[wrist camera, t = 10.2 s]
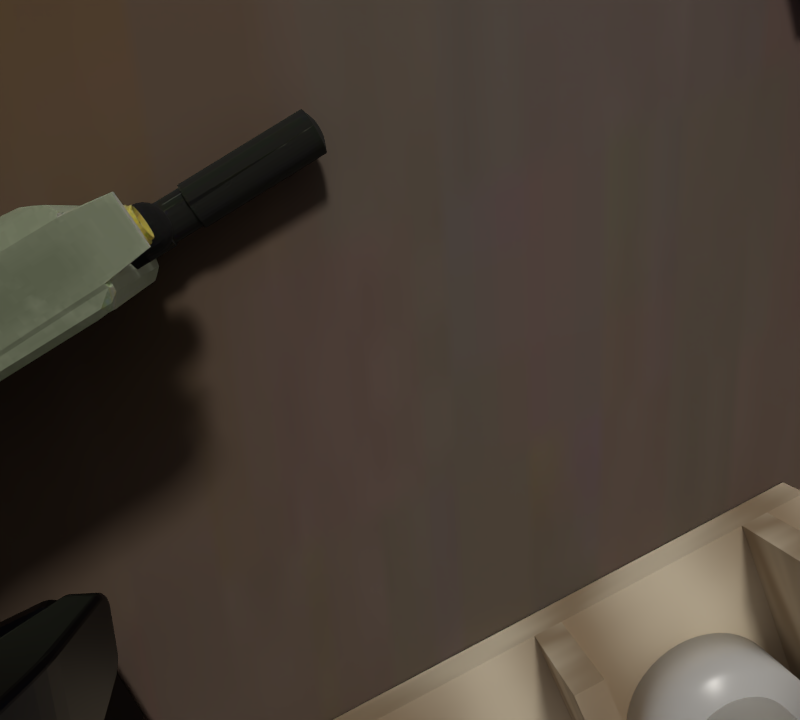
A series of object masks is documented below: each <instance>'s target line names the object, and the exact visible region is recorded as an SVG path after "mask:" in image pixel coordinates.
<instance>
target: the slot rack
mask: <svg viewBox="0 0 800 720" xmlns="http://www.w3.org/2000/svg"><path fill="white" fill-rule="evenodd" d="M712 633H730V634H735V635H739V636H742V637H745V638H747V639H749V640H751V641H753V642H755V643H756V644H757V645H759V646H760V647H761V648H762V649H764V650H765V651H766V652H767V653H768V654H770V655H771V656H772V657H773V658H774V659H775V660H777V661H778V662H779V663H780V664H781V665H783V666H784V667H785V668H786V669H787V670H788V671H790V672H791V673H792V674H793V675H794V676H795V677H797V678H798V679H799V680H800V490H798V489H796V488H793V487H791V486H789V485H787V484H785V483H781V484H779V485H777V486H775V487H773V488H771V489H769V490H767V491H766V492H764V493H762V494H760V495H758V496H756V497H754V498H752V499H750V500H748V501H747V502H745V503H743V504H741V505H739V506H737V507H735V508H733V509H731V510H730V511H728V512H726V513H724V514H722V515H720V516H718V517H716V518H714V519H712V520H711V521H709V522H707V523H705V524H703V525H701V526H699V527H697V528H695V529H694V530H692V531H690V532H688V533H686V534H684V535H682V536H680V537H678V538H676V539H675V540H673V541H671V542H669V543H667V544H665V545H663V546H661V547H659V548H658V549H656V550H654V551H652V552H650V553H648V554H646V555H644V556H642V557H640V558H639V559H637V560H635V561H633V562H631V563H629V564H627V565H625V566H623V567H621V568H620V569H618V570H616V571H614V572H612V573H610V574H608V575H606V576H604V577H603V578H601V579H599V580H597V581H595V582H593V583H591V584H589V585H587V586H585V587H584V588H582V589H580V590H578V591H576V592H574V593H572V594H570V595H568V596H567V597H565V598H563V599H561V600H559V601H557V602H555V603H553V604H551V605H549V606H548V607H546V608H544V609H542V610H540V611H538V612H536V613H534V614H532V615H531V616H529V617H527V618H525V619H523V620H521V621H519V622H517V623H515V624H513V625H512V626H510V627H508V628H506V629H504V630H502V631H500V632H498V633H496V634H495V635H493V636H491V637H489V638H487V639H485V640H483V641H481V642H479V643H477V644H476V645H474V646H472V647H470V648H468V649H466V650H464V651H462V652H460V653H459V654H457V655H455V656H453V657H451V658H449V659H447V660H445V661H443V662H441V663H440V664H438V665H436V666H434V667H432V668H430V669H428V670H426V671H424V672H422V673H421V674H419V675H417V676H415V677H413V678H411V679H409V680H407V681H405V682H404V683H402V684H400V685H398V686H396V687H394V688H392V689H390V690H388V691H386V692H385V693H383V694H381V695H379V696H377V697H375V698H373V699H371V700H369V701H368V702H366V703H364V704H362V705H360V706H358V707H356V708H354V709H352V710H350V711H349V712H347V713H345V714H343V715H341V716H339V717H337V718H335V719H333V720H627V713H628V709H629V705H630V702H631V699H632V696H633V694H634V692H635V690H636V688H637V686H638V684H639V682H640V681H641V679H642V677H643V676H644V674H645V673H646V672H647V671H648V670H649V668H650V667H651V666H652V665H653V664H654V663H655V662H656V661H657V660H658V659H659V658H660V657H661V656H662V655H664V654H665V653H666V652H667V651H669V650H670V649H672V648H674V647H675V646H677V645H678V644H680V643H682V642H684V641H686V640H689V639H691V638H694V637H697V636H701V635H705V634H712Z"/></svg>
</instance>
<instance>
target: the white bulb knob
mask: <svg viewBox="0 0 800 720" xmlns="http://www.w3.org/2000/svg"><path fill="white" fill-rule="evenodd" d="M627 720H800V680H799V679H798V678H797V677H795V676H794V675H793V674H792V673H791V672H790V671H788V670H787V669H786V668H785V667H784V666H783V665H781V664H780V663H779V662H778V661H777V660H775V659H774V658H773V657H772V656H771V655H770V654H768V653H767V652H766V651H765V650H764V649H762V648H761V647H760V646H759V645H757V644H756V643H755V642H753V641H751V640H749V639H747V638H745V637H742V636H739V635H735V634H730V633H712V634H705V635H701V636H697V637H694V638H691V639H689V640H686V641H684V642H682V643H680V644H678V645H677V646H675V647H674V648H672V649H670V650H669V651H667V652H666V653H665V654H664V655H662V656H661V657H660V658H659V659H658V660H657V661H656V662H655V663H654V664H653V665H652V666H651V667H650V668H649V670H648V671H647V672H646V673H645V674H644V676H643V677H642V679H641V681H640V682H639V684H638V686H637V688H636V690H635V692H634V694H633V696H632V699H631V702H630V705H629V709H628V713H627Z"/></svg>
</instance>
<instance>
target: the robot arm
mask: <svg viewBox="0 0 800 720" xmlns="http://www.w3.org/2000/svg"><path fill="white" fill-rule="evenodd" d="M117 666H118V653H117V647H116V640H115V634H114V628H113V622H112V616H111V610H110V605H109V602H108V600H107V597H106V596H105V595H103V594H102V593H86V594H69V595H66V596H64V597H62V598H60V599H59V600H47V601H43V602H41V603H39V604H37V605H35V606H33V607H31V608H29V609H27V610H25V611H22V612H20V613H18V614H16V615H14V616H12V617H10V618H8V619H6V620H4V621H2V622H0V720H143V713H142V712H141V710H140V709H139V707H138V706H137V704H136V702H135V701H134V699H133V698H132V696H131V695H130V693H129V692H128V690H127V688H126V687H125V685H124V684H123V682H122V681H121V679H120V678H119V676H118V675H117Z"/></svg>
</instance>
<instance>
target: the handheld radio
mask: <svg viewBox="0 0 800 720" xmlns="http://www.w3.org/2000/svg"><path fill="white" fill-rule="evenodd" d="M326 153H327V151H326V145H325V140H324V136H323V134H322V131H321V130H320V128H319V126H318V125H317V123H316V122H315V120H314V119H312V118H311V117H310V116H309V115H308V114H307V113H305V112H304V111H303V110H302V109H301V110H299V111H297V112H296V113H294V114H292V115H291V116H289V117H287V118H286V119H284V120H283V121H281V122H279V123H278V124H276V125H274V126H273V127H271V128H270V129H268V130H266V131H265V132H263V133H261V134H260V135H258V136H257V137H255V138H253V139H252V140H250V141H248V142H247V143H245V144H243V145H242V146H240V147H239V148H237V149H235V150H234V151H232V152H230V153H229V154H227V155H226V156H224V157H222V158H221V159H219V160H217V161H216V162H214V163H212V164H211V165H209V166H208V167H206V168H204V169H203V170H201V171H199V172H198V173H196V174H195V175H193V176H191V177H190V178H188V179H186V180H185V181H183V182H181V183H180V184H178V185H177V186H178V188H177V189H176V190H174V191H173V192H171V193H169V194H168V195H166V196H164V197H163V198H161V199H159V200H158V201H156V202H155V203H153V204H150V203H144V202H141V203H136V204H133V205H130V206H126V205H123V204H122V203H121V202H120V200H119V199H118V198H117V196H116V195H115V194H114V192H111V193H109V194H106V195H104V196H102V197H99V198H97V199H95V200H93V201H90V202H88V203H86V204H84V205H81V206H66V205H40V206H28V207H20V208H17V209H15V210H13V211H11V212H9V213H7V214H5V215H3V216H1V217H0V381H1V380H3V379H5V378H6V377H8V376H9V375H11V374H13V373H14V372H16V371H18V370H19V369H21V368H22V367H24V366H26V365H27V364H29V363H30V362H32V361H34V360H35V359H37V358H38V357H40V356H42V355H43V354H45V353H46V352H48V351H50V350H51V349H53V348H55V347H56V346H58V345H59V344H61V343H63V342H64V341H66V340H67V339H69V338H71V337H72V336H74V335H75V334H77V333H79V332H80V331H82V330H83V329H85V328H87V327H88V326H90V325H91V324H93V323H95V322H96V321H98V320H99V319H101V318H102V317H103V316H105V315H106V314H108V313H109V312H111V311H113V310H115V309H116V308H118V307H119V306H121V305H122V304H123V303H125V302H126V301H128V300H129V299H130V298H132V297H133V296H135V295H136V294H137V293H139V292H140V291H142V290H143V289H144V288H146V287H147V286H148V285H150V284H151V283H153V282H154V281H155V280H156V277H157V273H158V269H159V265H158V262H157V260H156V258H158V257H159V256H161V255H162V254H164V253H166V252H167V251H169V250H171V249H172V248H174V247H175V246H177V242H178V241H180V240H181V239H183V238H184V237H186V236H188V235H189V234H191V233H193V232H194V231H196V230H197V229H199V228H201V227H202V226H205V227H208V226H209V225H211V224H213V223H214V222H216V221H217V220H219V219H221V218H222V217H224V216H225V215H227V214H229V213H230V212H232V211H234V210H235V209H237V208H238V207H240V206H242V205H243V204H245V203H246V202H248V201H250V200H251V199H253V198H255V197H256V196H258V195H259V194H261V193H263V192H264V191H266V190H267V189H269V188H271V187H272V186H274V185H276V184H277V183H279V182H280V181H282V180H284V179H285V178H287V177H288V176H290V175H292V174H293V173H295V172H297V171H298V170H300V169H301V168H303V167H305V166H306V165H308V164H309V163H311V162H313V161H314V160H316V159H317V158H319V157H321V156H322V155H324V154H326Z"/></svg>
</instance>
